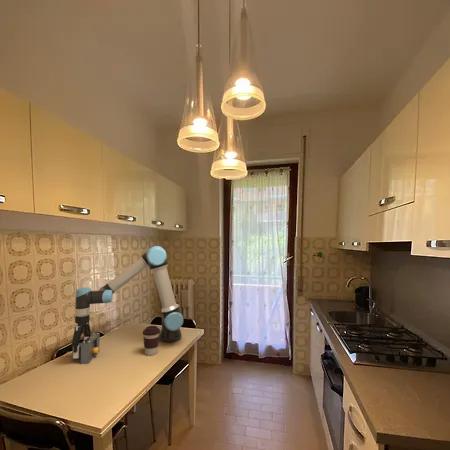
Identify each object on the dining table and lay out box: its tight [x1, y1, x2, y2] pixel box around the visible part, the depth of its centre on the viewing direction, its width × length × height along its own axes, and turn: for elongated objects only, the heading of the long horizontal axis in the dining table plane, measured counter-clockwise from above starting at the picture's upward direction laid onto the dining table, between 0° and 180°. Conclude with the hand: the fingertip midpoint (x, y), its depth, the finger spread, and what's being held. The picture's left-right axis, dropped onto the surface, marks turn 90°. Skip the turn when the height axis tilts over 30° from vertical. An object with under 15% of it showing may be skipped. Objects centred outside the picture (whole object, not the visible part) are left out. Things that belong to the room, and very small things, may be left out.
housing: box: [80, 332, 100, 365], centre depth 149 cm, size 4×16×11 cm, turn 6°
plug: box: [71, 342, 100, 362], centre depth 149 cm, size 13×5×8 cm, turn 99°
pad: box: [63, 351, 72, 357], centre depth 154 cm, size 9×6×1 cm, turn 96°
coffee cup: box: [142, 325, 161, 357], centre depth 154 cm, size 10×10×15 cm
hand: (81, 352), depth 149 cm, fingers open, 13 cm apart
